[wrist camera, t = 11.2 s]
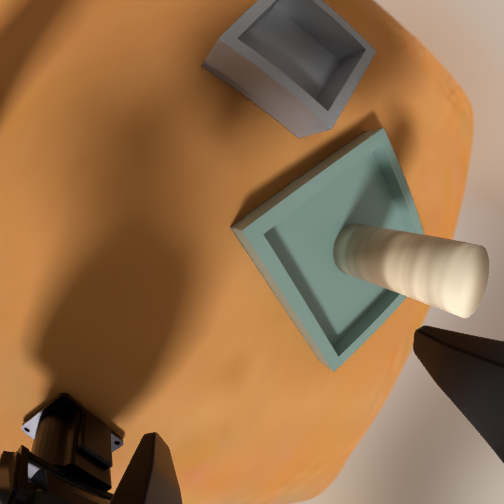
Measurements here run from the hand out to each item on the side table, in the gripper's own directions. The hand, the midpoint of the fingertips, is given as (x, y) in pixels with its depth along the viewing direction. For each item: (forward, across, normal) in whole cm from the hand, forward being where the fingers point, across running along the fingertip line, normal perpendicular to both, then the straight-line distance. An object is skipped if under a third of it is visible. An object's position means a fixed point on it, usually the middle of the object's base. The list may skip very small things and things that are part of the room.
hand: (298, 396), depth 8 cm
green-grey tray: (+14, -10, +3) cm, 17 cm away
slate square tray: (+15, -8, -13) cm, 21 cm away
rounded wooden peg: (+13, -10, +2) cm, 17 cm away
